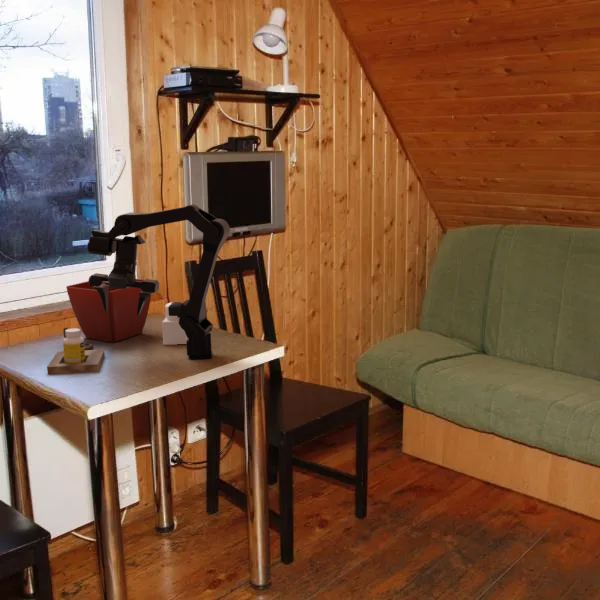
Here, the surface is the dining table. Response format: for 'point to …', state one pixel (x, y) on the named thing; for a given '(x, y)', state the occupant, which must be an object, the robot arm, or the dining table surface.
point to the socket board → (90, 365)
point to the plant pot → (108, 312)
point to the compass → (86, 345)
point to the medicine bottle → (173, 325)
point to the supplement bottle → (73, 346)
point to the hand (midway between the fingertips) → (122, 313)
